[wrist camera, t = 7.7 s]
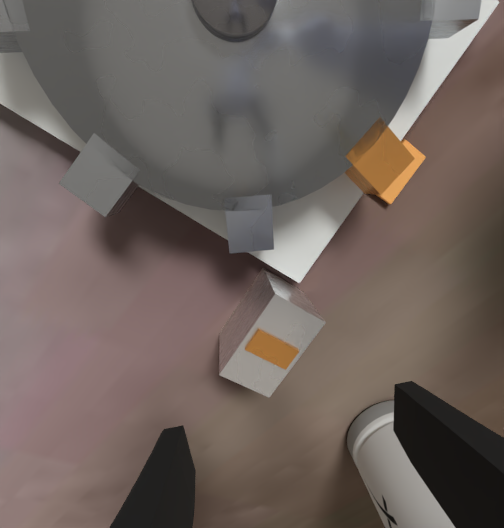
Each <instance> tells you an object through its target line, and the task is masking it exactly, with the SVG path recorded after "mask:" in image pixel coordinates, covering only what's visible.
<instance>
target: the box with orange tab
mask: <svg viewBox="0 0 504 528" xmlns="http://www.w3.org/2000/svg"><path fill="white" fill-rule="evenodd" d="M325 323H326V322H325V321H324V319H323V318H322V316H321V315H320V314H319V312H318V311H317V310H316V308H315V307H314V306H313V304H312V303H311V302H310V300H309V299H308V297H307V296H306V295H305V293H304V292H303V291H302V290H300V289H298V288H297V287H295V286H293V285H291V284H290V283H288V282H286V281H285V280H283V279H281V278H280V277H278V276H276V275H274V274H273V273H271V272H269V271H268V270H266V269H264V268H262V270H261V271H260V273H259V274H258V276H257V277H256V279H255V280H254V282H253V283H252V285H251V286H250V288H249V289H248V291H247V292H246V294H245V295H244V297H243V298H242V300H241V301H240V303H239V304H238V306H237V307H236V309H235V310H234V312H233V313H232V315H231V316H230V318H229V319H228V321H227V322H226V324H225V325H224V327H223V328H222V330H221V331H220V339H219V375H220V376H222V377H225V378H227V379H229V380H231V381H233V382H236V383H238V384H240V385H242V386H245V387H247V388H249V389H251V390H253V391H256V392H258V393H260V394H262V395H264V396H267V397H270V396H271V395H272V393H273V392H274V391H275V389H276V388H277V387H278V385H279V384H280V383H281V381H282V380H283V379H284V377H285V376H286V375H287V373H288V372H289V371H290V369H291V368H292V367H293V365H294V364H295V363H296V361H297V360H298V359H299V357H300V356H301V355H302V353H303V352H304V351H305V349H306V348H307V347H308V345H309V344H310V343H311V341H312V340H313V339H314V338H315V336H316V335H317V334H318V332H319V331H320V330H321V328H322V327H323V326H324V324H325Z"/></svg>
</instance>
